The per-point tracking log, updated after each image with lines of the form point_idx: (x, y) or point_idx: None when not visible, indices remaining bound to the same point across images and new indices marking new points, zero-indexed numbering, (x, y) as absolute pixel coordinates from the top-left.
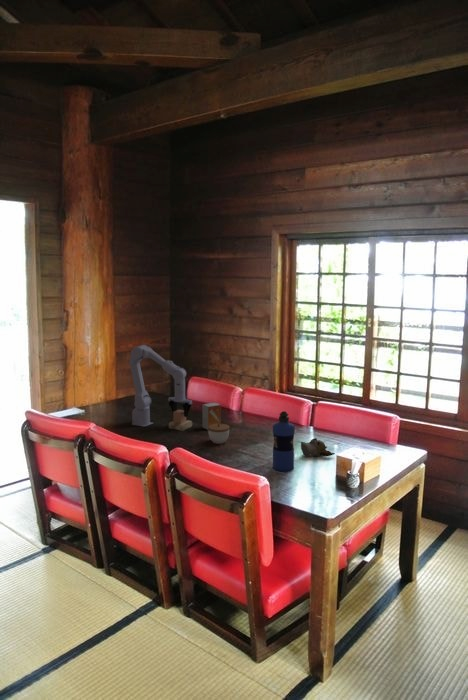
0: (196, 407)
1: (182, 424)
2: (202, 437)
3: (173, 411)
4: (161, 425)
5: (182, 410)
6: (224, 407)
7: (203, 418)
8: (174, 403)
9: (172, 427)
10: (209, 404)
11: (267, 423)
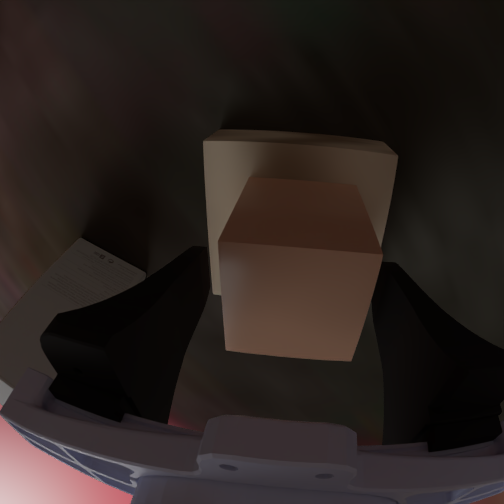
0: None
1: (217, 163)
2: (18, 97)
3: (397, 287)
4: (474, 190)
5: (280, 348)
6: None
7: None
8: (412, 412)
9: (341, 138)
10: None
11: None
